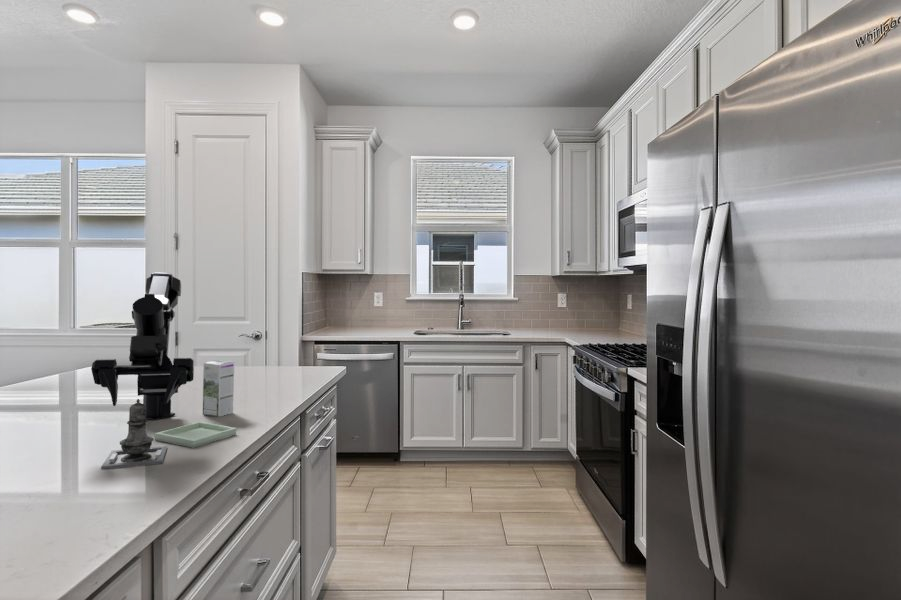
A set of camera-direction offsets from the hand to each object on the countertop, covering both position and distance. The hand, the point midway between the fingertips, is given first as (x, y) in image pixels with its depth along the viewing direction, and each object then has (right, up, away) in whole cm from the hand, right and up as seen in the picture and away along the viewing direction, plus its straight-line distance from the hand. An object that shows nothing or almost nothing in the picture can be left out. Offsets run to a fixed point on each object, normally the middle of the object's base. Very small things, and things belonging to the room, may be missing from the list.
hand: (140, 403), depth 104 cm
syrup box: (0, -10, +34) cm, 36 cm away
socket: (+1, -10, -3) cm, 11 cm away
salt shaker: (+1, -11, -3) cm, 11 cm away
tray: (+5, -10, +12) cm, 17 cm away
